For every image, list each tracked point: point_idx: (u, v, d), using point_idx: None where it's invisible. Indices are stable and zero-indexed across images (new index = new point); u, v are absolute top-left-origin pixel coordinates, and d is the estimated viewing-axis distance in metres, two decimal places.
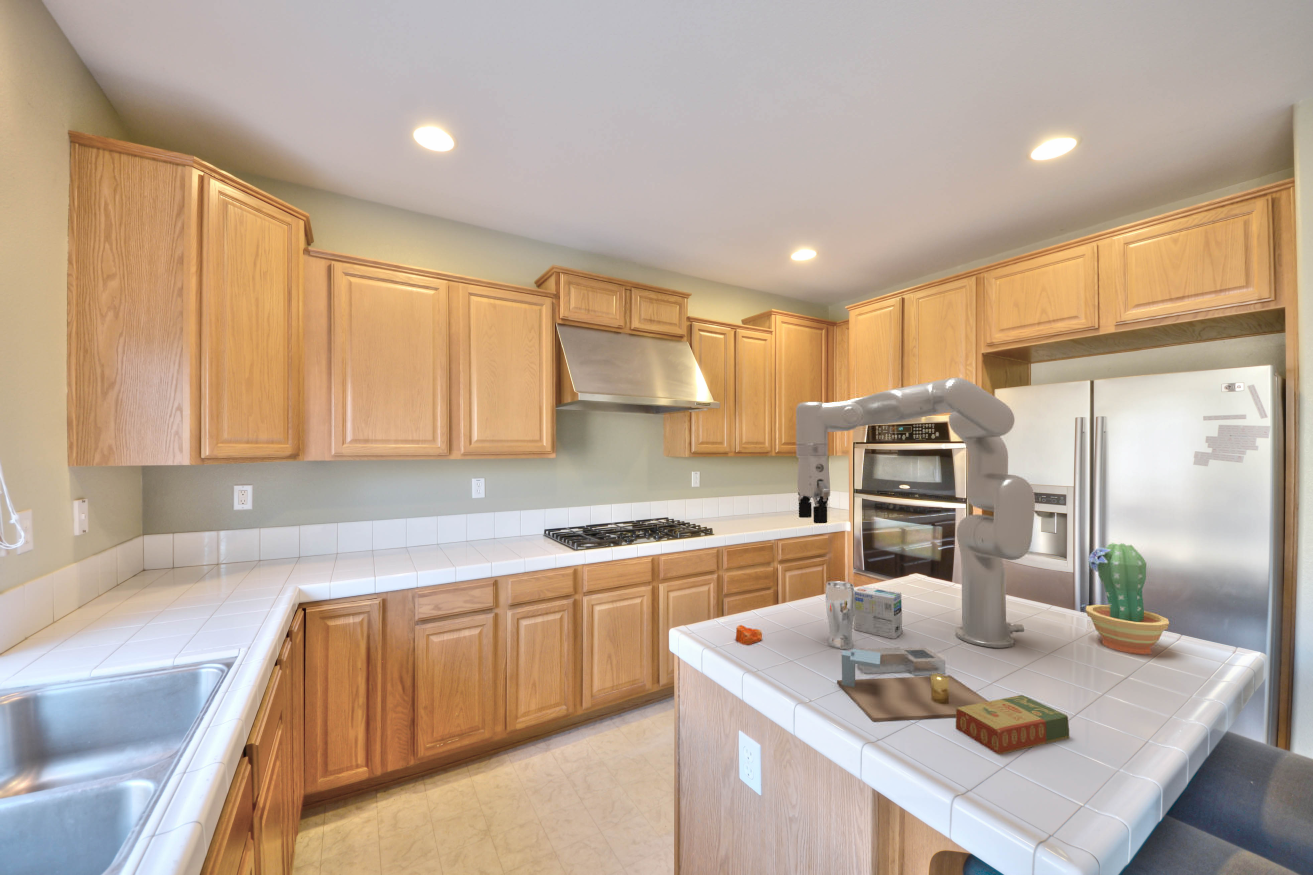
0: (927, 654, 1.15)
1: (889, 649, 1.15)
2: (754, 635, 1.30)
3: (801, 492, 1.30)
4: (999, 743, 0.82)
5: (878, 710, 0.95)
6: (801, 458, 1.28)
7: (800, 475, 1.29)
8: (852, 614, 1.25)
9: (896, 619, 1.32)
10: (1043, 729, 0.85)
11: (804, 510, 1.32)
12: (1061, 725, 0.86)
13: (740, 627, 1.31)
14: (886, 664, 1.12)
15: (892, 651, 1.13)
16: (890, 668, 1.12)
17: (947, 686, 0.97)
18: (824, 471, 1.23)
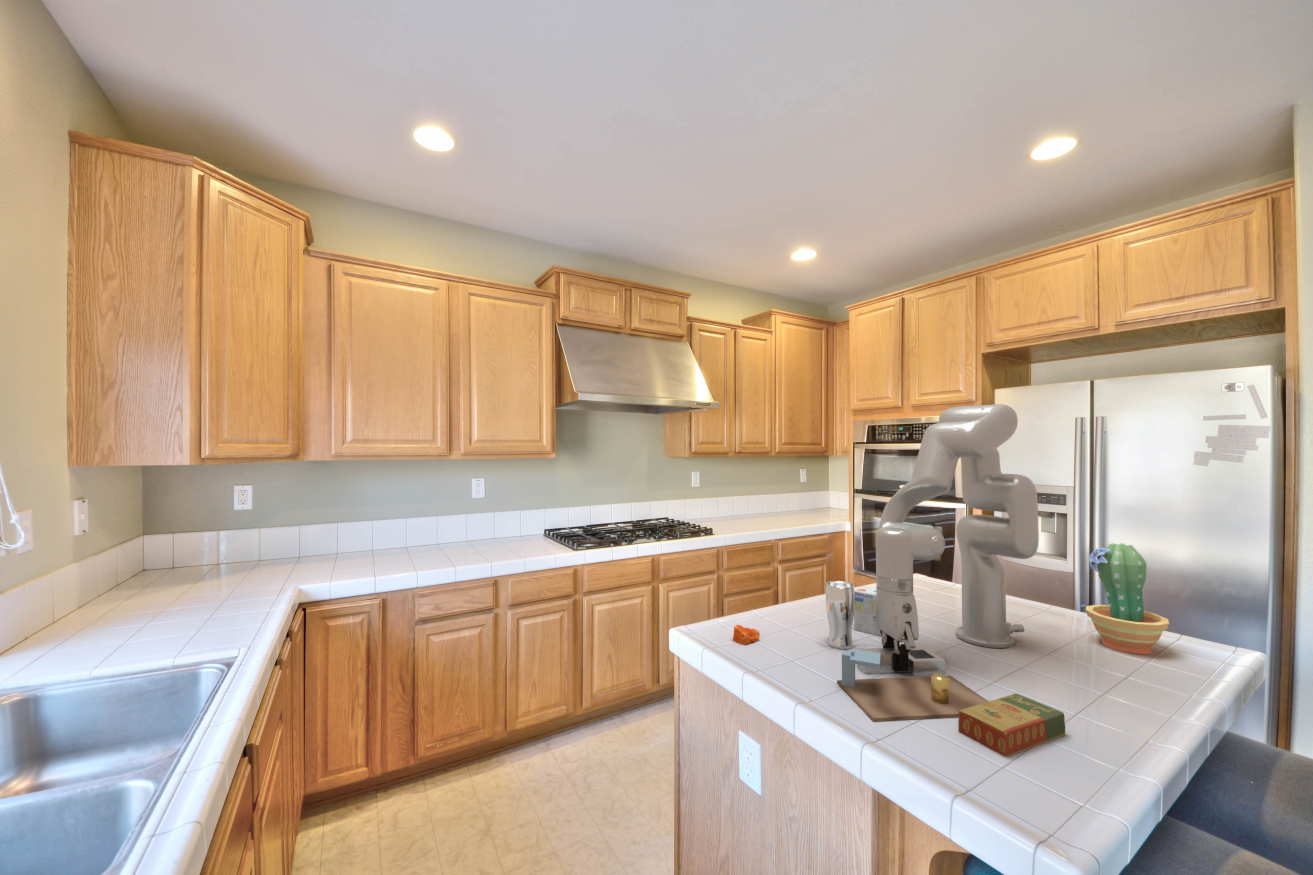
0: (927, 654, 1.15)
1: (889, 649, 1.15)
2: (751, 635, 1.30)
3: (881, 628, 1.16)
4: (1005, 745, 0.82)
5: (878, 710, 0.95)
6: (883, 591, 1.14)
7: (880, 609, 1.15)
8: (852, 614, 1.25)
9: None
10: (1043, 728, 0.85)
11: None
12: (1059, 722, 0.87)
13: (737, 627, 1.31)
14: (886, 664, 1.12)
15: (892, 651, 1.13)
16: (890, 668, 1.12)
17: (947, 686, 0.97)
18: (912, 612, 1.09)
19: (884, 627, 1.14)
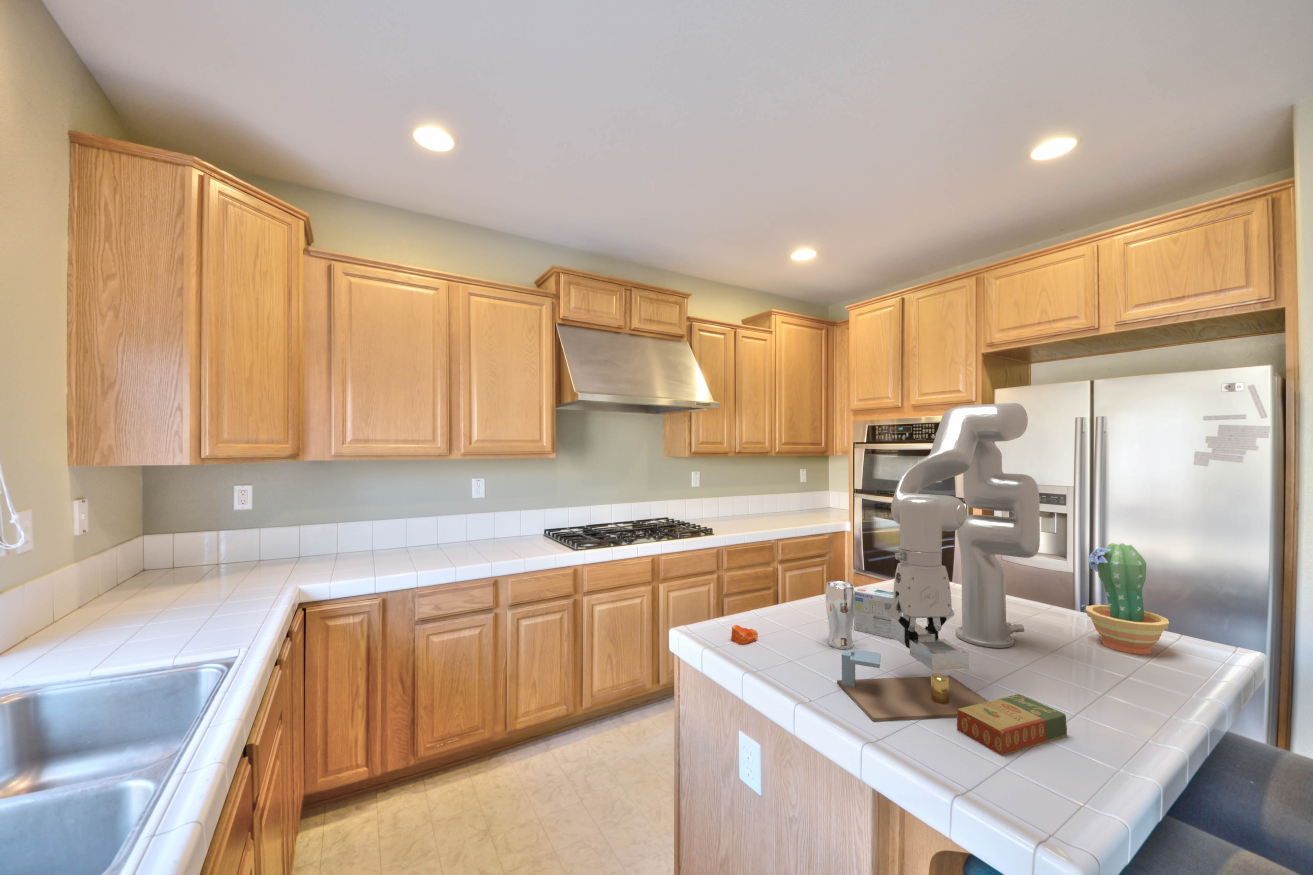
0: None
1: (921, 628, 1.05)
2: (749, 635, 1.30)
3: None
4: (1002, 744, 0.82)
5: (878, 710, 0.95)
6: None
7: None
8: (852, 614, 1.25)
9: None
10: (1043, 728, 0.85)
11: None
12: (1060, 724, 0.87)
13: (735, 627, 1.31)
14: (903, 636, 1.07)
15: None
16: None
17: (947, 686, 0.97)
18: (900, 583, 1.03)
19: None
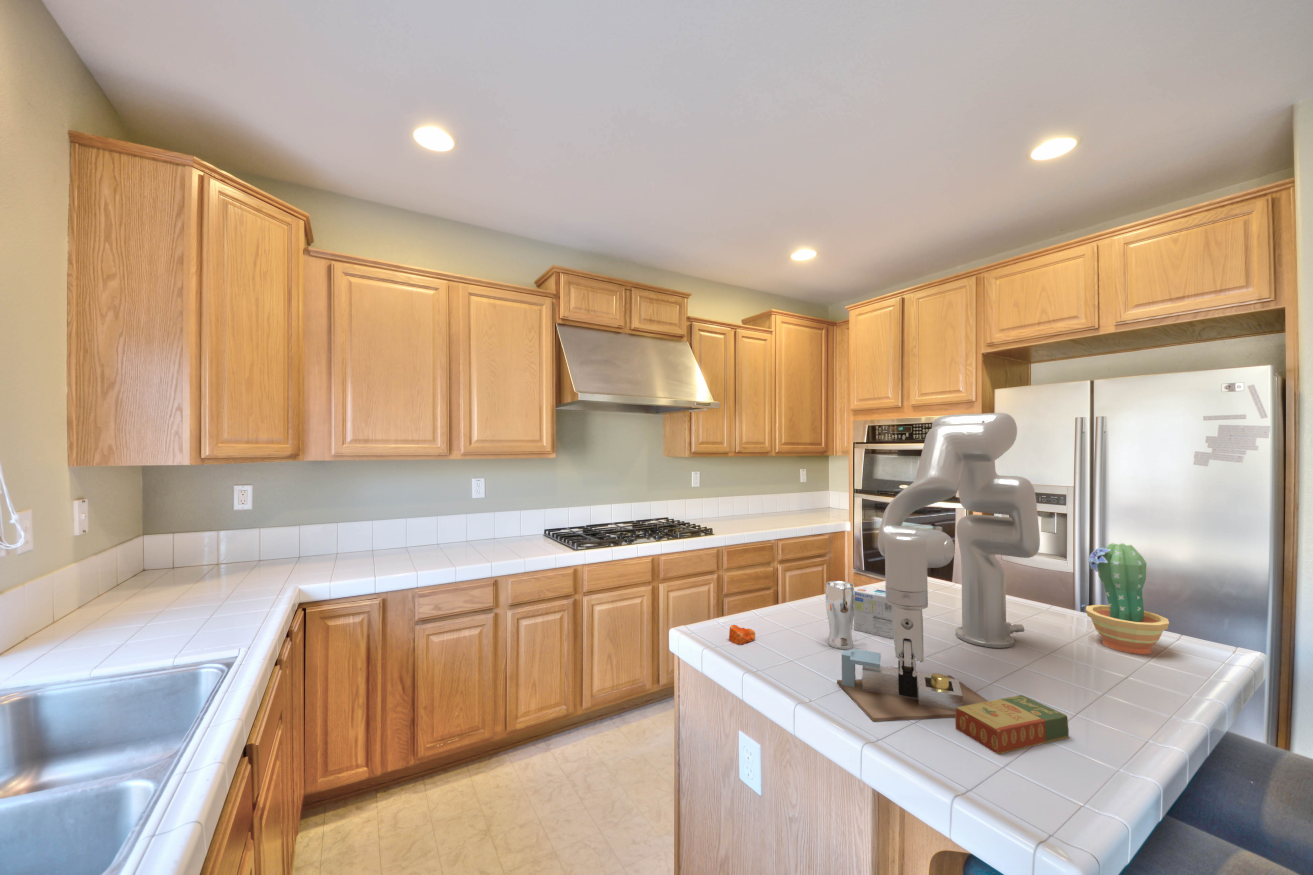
0: (952, 687, 0.98)
1: None
2: (747, 635, 1.30)
3: None
4: (998, 742, 0.82)
5: (878, 710, 0.95)
6: None
7: None
8: (852, 614, 1.25)
9: None
10: (1042, 729, 0.85)
11: None
12: (1061, 725, 0.86)
13: (733, 627, 1.31)
14: (888, 685, 1.01)
15: None
16: (894, 691, 1.00)
17: (947, 686, 0.97)
18: (913, 629, 0.96)
19: None
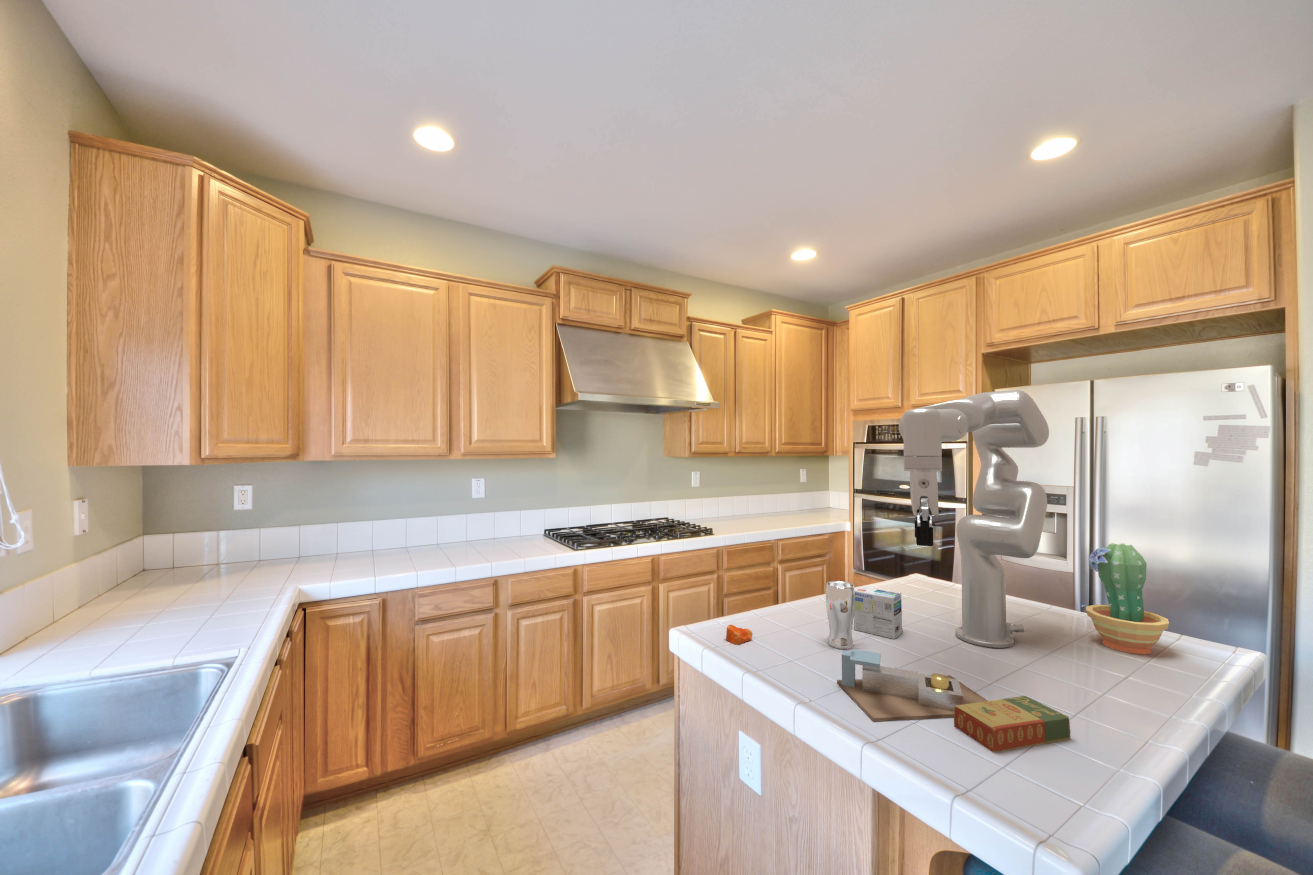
0: (952, 687, 0.98)
1: (900, 671, 1.02)
2: (744, 635, 1.30)
3: None
4: (994, 741, 0.83)
5: (878, 710, 0.95)
6: None
7: None
8: (852, 614, 1.25)
9: (896, 619, 1.32)
10: (1042, 729, 0.85)
11: None
12: (1062, 726, 0.86)
13: (730, 627, 1.31)
14: (888, 685, 1.01)
15: (901, 673, 1.01)
16: (894, 691, 1.00)
17: (947, 686, 0.97)
18: (929, 487, 1.09)
19: None
